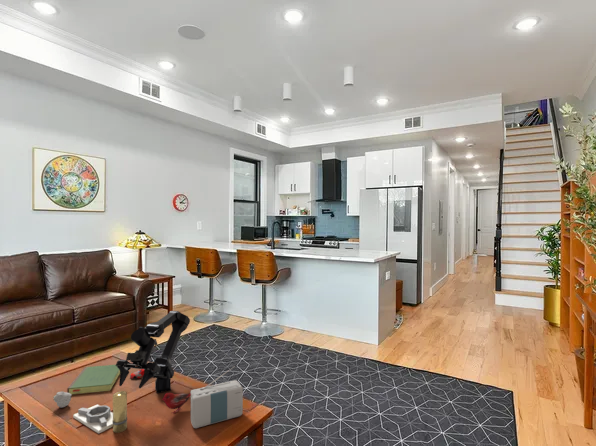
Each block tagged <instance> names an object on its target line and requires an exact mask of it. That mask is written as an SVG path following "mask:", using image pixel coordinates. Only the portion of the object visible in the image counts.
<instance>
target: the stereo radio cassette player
mask: <svg viewBox="0 0 596 446" xmlns="http://www.w3.org/2000/svg"><path fill="white" fill-rule="evenodd" d="M235 367H236V366H235V365H233V367H232V368H230V369H229V370H227V371H225V372H224V373H222V374H221V375H220V376H218V377H217V378H215V379H214V380H213V381H211V382H210V383H209V384H207V385H206V386H204V387H200V388H195V389H191V390H190V393H191V396H190V423H191V425H192V427H193V428H194V429H198V428H201V427H202V428H203V427H205V426H208V425H213V424H216V423H220V422H223V421H228V420H231V419H234V418H239V417H241V416H242V415H243V411H244V410H243V407H244V405H243V404H244V403H243V402H244V401H243V400H244V392H243V391H244V390H243V389H244V387H243V386H242V385H241V383H240V382H239V381H238V380H236V379H235V380H230V381H226V382H221V383H217V384H214V383H215V382H216V381H217V380H219V379H220V378H221V377H223V376H225V375H226V374H227V373H228V372H230V371H231V370H232V369H233V368H235Z"/></svg>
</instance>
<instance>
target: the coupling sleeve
mask: <svg viewBox="0 0 596 446" xmlns="http://www.w3.org/2000/svg"><path fill="white" fill-rule="evenodd" d="M127 396H128V394H127V391H125V390H124V391H123V390H121V391H117V392H115V393H113V394H112V413H113V421H112V423H113V427H112V431H113V432H114V433H116V434H118V433H123V432H125V431H126V430H127V428H128V405H127V404H128V402H127V401H128V397H127Z"/></svg>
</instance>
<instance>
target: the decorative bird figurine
mask: <svg viewBox="0 0 596 446" xmlns="http://www.w3.org/2000/svg"><path fill="white" fill-rule="evenodd" d="M189 398H191V392H190V393H177V394H176V393H175V394H174V393H173V392H166V393H165V394H164V396H163V398H162V399H161V401H163V402H164V403H165V405H166V407H167V408H168V409H171V410H174V411H173V412H171V414H176V413H177V412H179V411H181V410H182V408H181V407H182V406H183V405H185V403H187V402H188V400H189Z"/></svg>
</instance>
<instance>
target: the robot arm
mask: <svg viewBox="0 0 596 446" xmlns="http://www.w3.org/2000/svg"><path fill="white" fill-rule="evenodd" d="M190 323H191V319H190V318H189V316H188V315H186V314H184V313H181V311H179V310H170V311H169V312H168V313H166V314H165V315H164V316H163V317H162V318H160V319H159V320H158V321H155V322H153V321H152V322H150V323H148V324H147V325H146V326H145V327H144V326H139V327H138V328H137V329H136V330H133V332H132V333H131V335H130V339H131V341H132V342H134V344H136V346H138V347H139V348H138V349H136V350H135V351H134V352H127V355H126V358H125V359H118V360H117V361H116V363H115V364H114V365H115V366H117V367H118V369H119V370H120V374H119V384H118V385H119V387H122V386H123V384H124V382H125V381H126V379H127V377H128V375H129V374H130V370H131V369H137V370H141V369H144V375H143V377H142V378H141V380H140V382H139V385H138V389H141V388H143V386H145V385H146V384H147V382H149V380H150V379H152V378H153V379H155V381H154V389H155V391H156V393H157V394H160V393H165V392H166V393H167V392H171V391H172V387H171V379H173V377H174V375H175V371H174V369H173V368H172V366H173V365H172V358H173V355H174V353H175V350H176V347H177V346H178V343H179V340H180V338H181V336H182V335H181V334H182V333H184V331H186V330H187V329H188V326H189V325H190ZM170 325H171V328H172V330H171V332H170V335H169V337H168V339H167V342H166V344H165V347H164V349H163V351H162V354H161V356H160V357H156V358H155V360H154V362H150V361H149V360H150V359H151V358H152V357H153V355H152V352H153V350H154V348H155V346H157V345H158V342H157V338H161V336H162V335H163V334H164V333H165V329H166V328H168V327H169V326H170Z"/></svg>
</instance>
